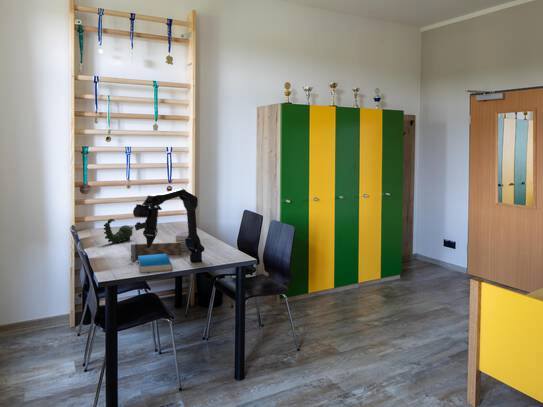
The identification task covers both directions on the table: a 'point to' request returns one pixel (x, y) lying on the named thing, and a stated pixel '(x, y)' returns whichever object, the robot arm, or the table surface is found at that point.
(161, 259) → the book
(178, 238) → the can
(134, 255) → the bookend
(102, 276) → the table surface
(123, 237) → the toy figurine
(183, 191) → the robot arm
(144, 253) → the shelf wall
